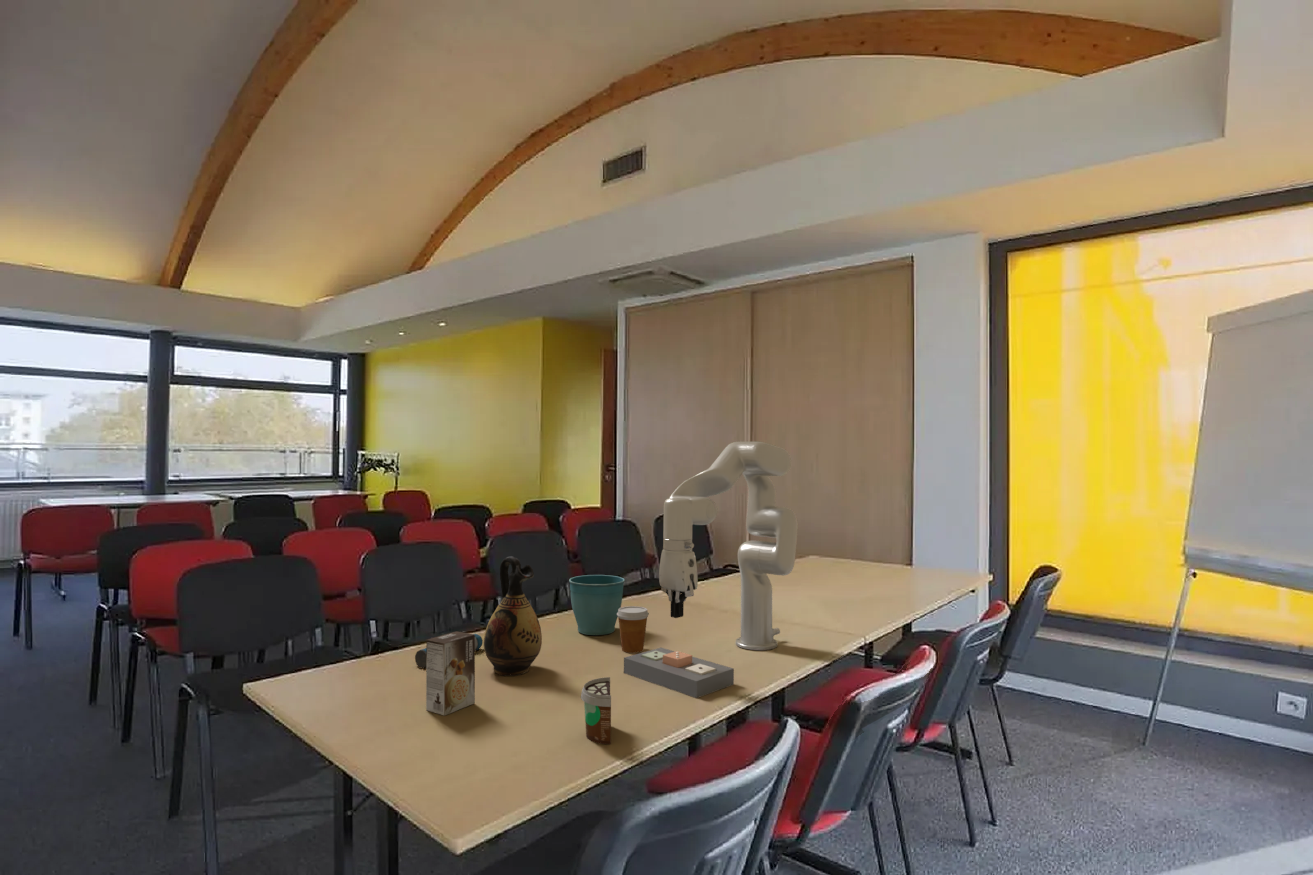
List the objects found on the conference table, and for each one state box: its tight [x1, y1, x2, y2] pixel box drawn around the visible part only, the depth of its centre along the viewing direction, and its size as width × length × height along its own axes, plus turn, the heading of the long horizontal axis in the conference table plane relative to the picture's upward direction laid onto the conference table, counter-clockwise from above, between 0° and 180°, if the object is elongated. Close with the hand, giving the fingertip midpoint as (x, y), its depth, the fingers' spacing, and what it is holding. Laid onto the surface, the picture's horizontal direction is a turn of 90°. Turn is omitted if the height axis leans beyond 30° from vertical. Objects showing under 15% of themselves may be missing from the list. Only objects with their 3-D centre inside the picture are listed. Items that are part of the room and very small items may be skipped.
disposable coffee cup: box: [617, 605, 650, 654], centre depth 204 cm, size 10×10×12 cm
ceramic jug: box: [483, 555, 543, 677], centre depth 185 cm, size 17×15×30 cm
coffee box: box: [425, 631, 476, 716], centre depth 157 cm, size 9×6×16 cm
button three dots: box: [663, 650, 693, 668], centre depth 178 cm, size 5×5×4 cm
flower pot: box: [568, 574, 625, 636], centre depth 225 cm, size 18×18×17 cm
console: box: [623, 647, 735, 699], centre depth 178 cm, size 14×26×4 cm, turn 44°
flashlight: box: [414, 633, 484, 669], centre depth 196 cm, size 5×22×5 cm, turn 149°
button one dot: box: [685, 664, 716, 675], centre depth 172 cm, size 5×5×4 cm
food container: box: [580, 676, 612, 745], centre depth 142 cm, size 12×6×10 cm, turn 5°
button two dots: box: [642, 651, 665, 661], centre depth 184 cm, size 5×5×4 cm
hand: (676, 616), depth 178 cm, fingers closed
